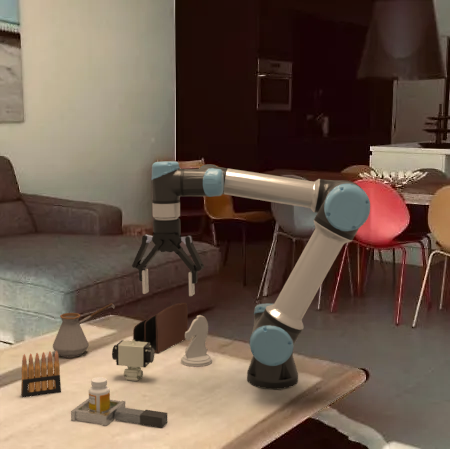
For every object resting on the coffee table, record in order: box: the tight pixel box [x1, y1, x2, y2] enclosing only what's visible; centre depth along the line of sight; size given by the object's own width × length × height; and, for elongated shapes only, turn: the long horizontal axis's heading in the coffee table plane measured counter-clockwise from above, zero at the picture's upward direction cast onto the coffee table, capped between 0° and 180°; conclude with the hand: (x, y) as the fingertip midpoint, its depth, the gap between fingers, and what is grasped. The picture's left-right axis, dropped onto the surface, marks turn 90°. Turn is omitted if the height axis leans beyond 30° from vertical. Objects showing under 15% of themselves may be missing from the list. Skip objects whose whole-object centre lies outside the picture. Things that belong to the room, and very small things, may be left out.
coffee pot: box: [52, 302, 116, 358], centre depth 247 cm, size 21×12×15 cm, turn 124°
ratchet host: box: [70, 397, 168, 429], centre depth 194 cm, size 24×11×3 cm, turn 72°
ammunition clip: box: [20, 351, 62, 398], centre depth 209 cm, size 11×2×12 cm, turn 114°
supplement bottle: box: [88, 376, 111, 414], centre depth 195 cm, size 5×5×10 cm
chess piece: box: [180, 314, 213, 368], centre depth 238 cm, size 10×10×15 cm
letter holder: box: [132, 302, 189, 355], centre depth 256 cm, size 10×20×14 cm, turn 153°
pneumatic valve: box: [111, 339, 156, 382], centre depth 222 cm, size 6×12×12 cm, turn 78°
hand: (168, 293), depth 209 cm, fingers open, 13 cm apart
